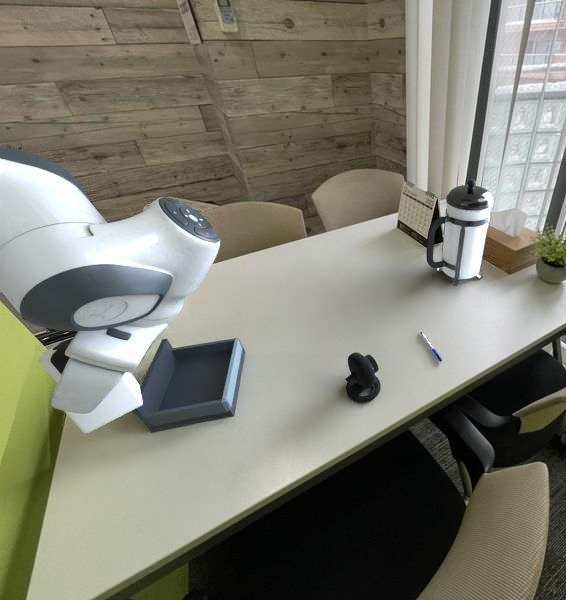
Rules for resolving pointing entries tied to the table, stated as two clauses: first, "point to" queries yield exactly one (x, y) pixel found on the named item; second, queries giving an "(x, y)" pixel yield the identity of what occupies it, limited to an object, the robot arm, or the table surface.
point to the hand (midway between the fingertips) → (93, 371)
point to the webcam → (362, 377)
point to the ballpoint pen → (431, 347)
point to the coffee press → (462, 232)
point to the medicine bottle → (113, 404)
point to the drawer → (191, 384)
